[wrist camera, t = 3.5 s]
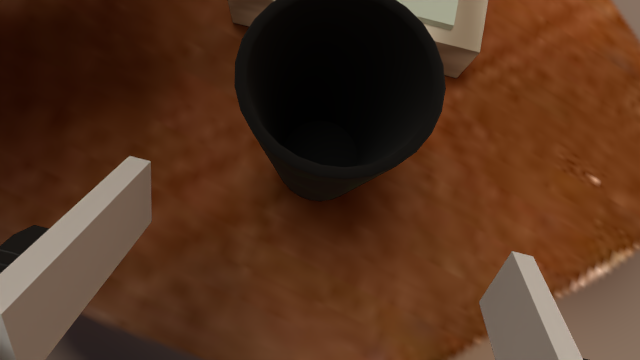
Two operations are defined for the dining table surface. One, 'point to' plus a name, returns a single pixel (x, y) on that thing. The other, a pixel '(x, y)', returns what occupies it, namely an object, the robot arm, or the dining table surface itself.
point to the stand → (433, 11)
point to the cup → (338, 90)
